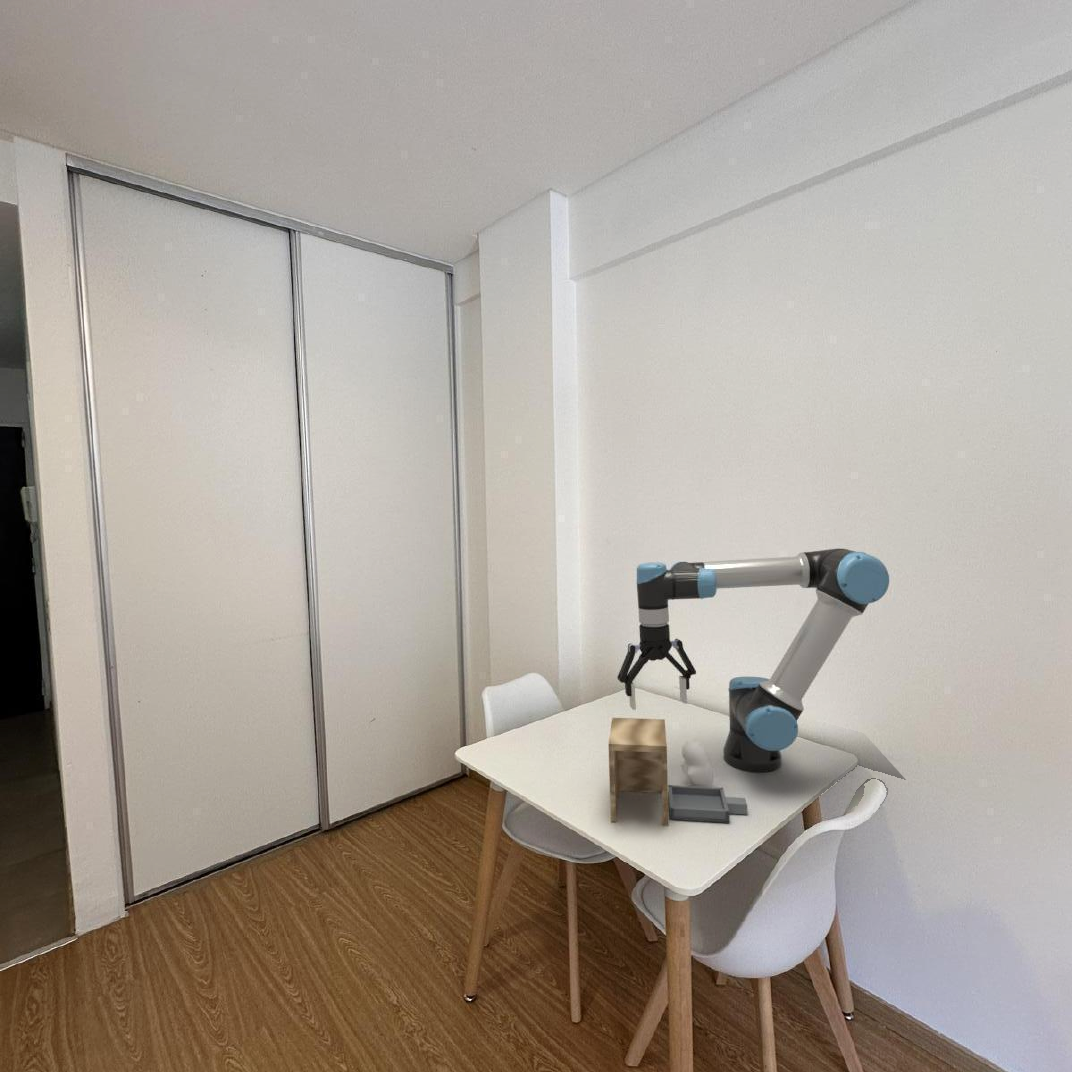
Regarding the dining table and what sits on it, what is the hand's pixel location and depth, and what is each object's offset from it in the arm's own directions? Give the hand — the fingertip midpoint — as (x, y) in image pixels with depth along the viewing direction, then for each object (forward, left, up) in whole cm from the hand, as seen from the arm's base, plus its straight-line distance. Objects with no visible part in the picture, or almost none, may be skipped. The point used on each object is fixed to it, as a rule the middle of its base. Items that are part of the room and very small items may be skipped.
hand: (658, 705), depth 153 cm
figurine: (-9, +1, -21) cm, 23 cm away
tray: (-11, +12, -20) cm, 26 cm away
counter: (+5, +12, -21) cm, 24 cm away
